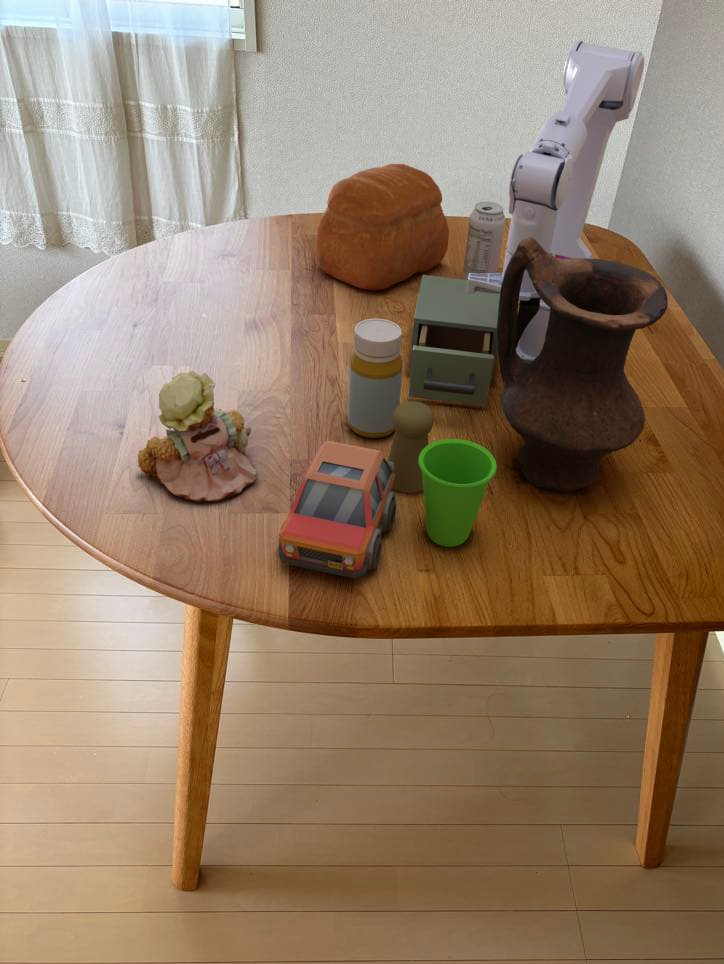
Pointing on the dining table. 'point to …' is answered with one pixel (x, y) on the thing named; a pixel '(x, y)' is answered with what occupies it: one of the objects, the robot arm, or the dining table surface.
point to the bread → (382, 227)
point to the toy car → (340, 512)
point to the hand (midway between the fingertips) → (512, 343)
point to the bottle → (374, 377)
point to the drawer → (451, 365)
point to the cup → (454, 487)
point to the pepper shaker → (409, 444)
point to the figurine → (198, 443)
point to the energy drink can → (484, 239)
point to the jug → (574, 363)
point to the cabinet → (455, 309)
